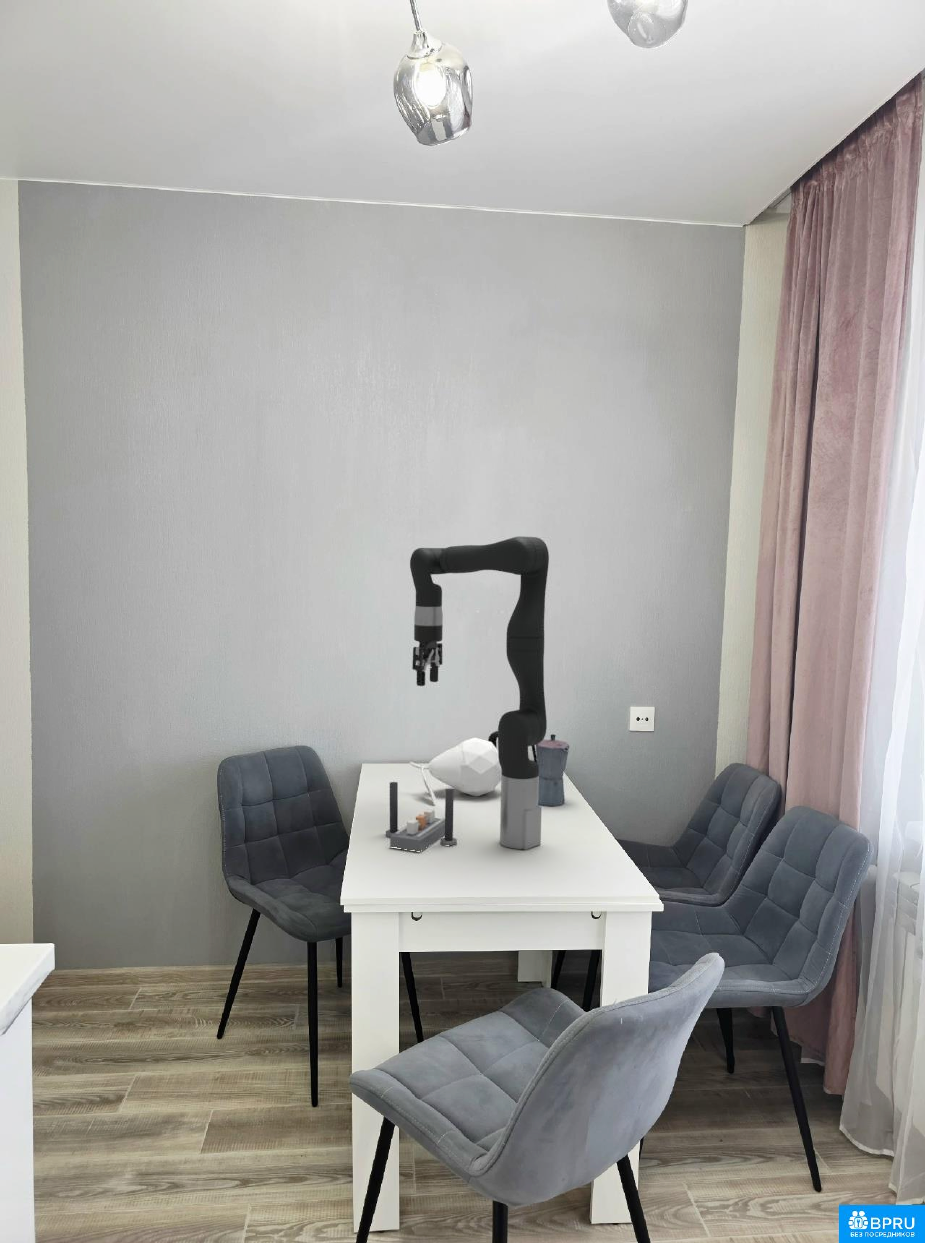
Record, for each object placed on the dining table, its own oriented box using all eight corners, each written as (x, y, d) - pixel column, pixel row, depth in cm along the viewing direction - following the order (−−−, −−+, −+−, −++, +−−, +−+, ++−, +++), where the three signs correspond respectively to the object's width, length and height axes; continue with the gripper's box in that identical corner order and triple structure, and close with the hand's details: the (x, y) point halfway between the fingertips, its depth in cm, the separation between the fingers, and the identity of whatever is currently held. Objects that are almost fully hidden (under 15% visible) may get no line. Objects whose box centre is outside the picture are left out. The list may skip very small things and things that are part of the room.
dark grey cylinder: (460, 843, 222) (461, 789, 221) (449, 847, 219) (450, 792, 218) (448, 840, 225) (449, 786, 223) (437, 843, 222) (438, 789, 220)
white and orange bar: (413, 834, 218) (413, 823, 218) (406, 833, 219) (407, 822, 218) (434, 820, 230) (434, 809, 229) (428, 819, 230) (428, 808, 230)
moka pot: (556, 811, 251) (558, 740, 250) (517, 799, 263) (518, 731, 261) (578, 805, 258) (581, 735, 256) (539, 793, 269) (541, 727, 268)
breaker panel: (420, 852, 215) (420, 838, 214) (390, 848, 218) (390, 833, 217) (449, 831, 231) (449, 817, 231) (421, 827, 234) (421, 813, 234)
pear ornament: (504, 725, 269) (410, 727, 265) (515, 785, 252) (415, 787, 248) (497, 762, 280) (407, 764, 276) (508, 821, 263) (411, 824, 259)
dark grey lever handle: (405, 835, 227) (404, 782, 226) (393, 839, 224) (393, 786, 223) (393, 832, 230) (393, 780, 229) (382, 835, 227) (382, 783, 226)
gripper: (430, 625, 232) (429, 688, 233) (451, 622, 245) (450, 681, 247) (404, 624, 235) (403, 686, 236) (426, 620, 248) (425, 679, 249)
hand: (427, 683), depth 241 cm, fingers open, 8 cm apart
